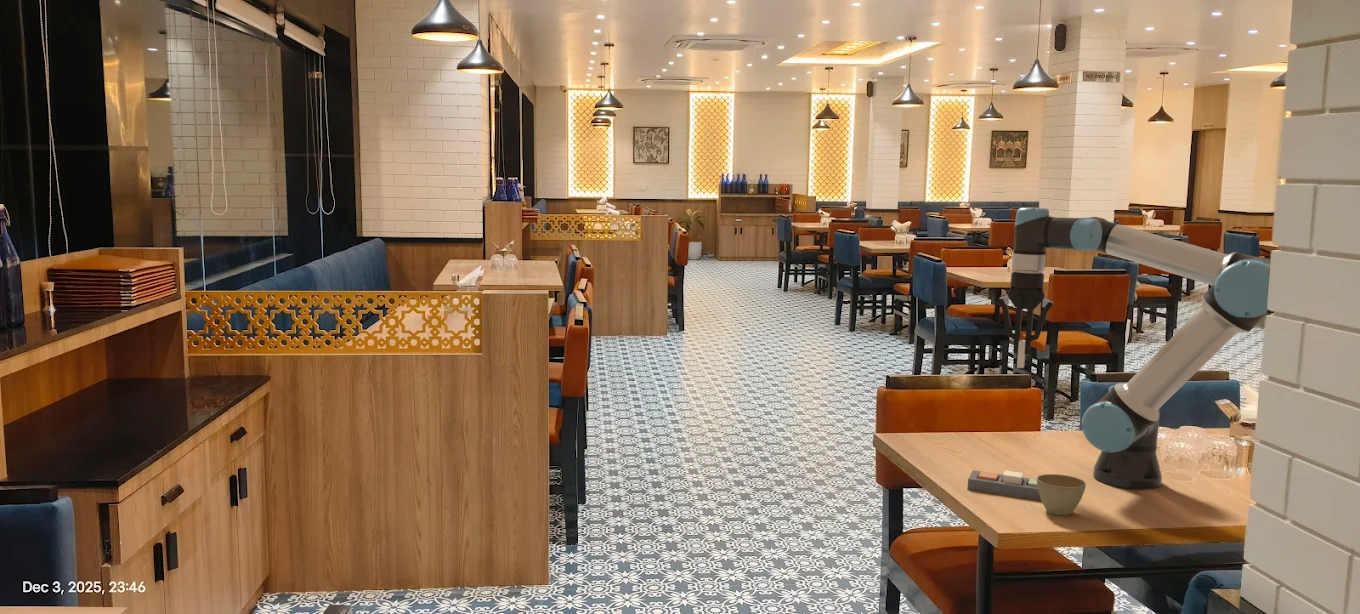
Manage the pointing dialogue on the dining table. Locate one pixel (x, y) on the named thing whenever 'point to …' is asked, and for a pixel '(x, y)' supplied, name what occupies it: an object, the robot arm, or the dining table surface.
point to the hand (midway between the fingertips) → (1020, 366)
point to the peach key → (988, 476)
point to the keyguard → (1002, 486)
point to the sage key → (1032, 482)
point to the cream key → (1013, 477)
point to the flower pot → (1060, 493)
